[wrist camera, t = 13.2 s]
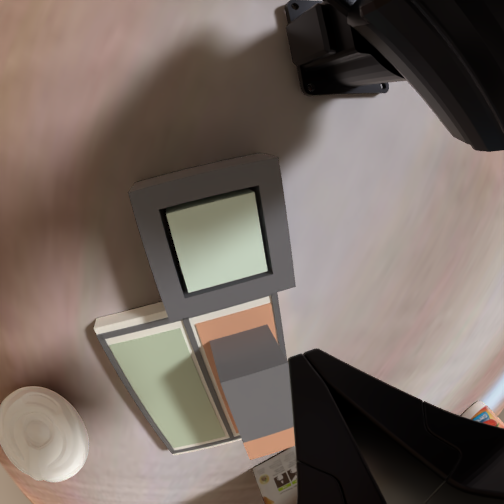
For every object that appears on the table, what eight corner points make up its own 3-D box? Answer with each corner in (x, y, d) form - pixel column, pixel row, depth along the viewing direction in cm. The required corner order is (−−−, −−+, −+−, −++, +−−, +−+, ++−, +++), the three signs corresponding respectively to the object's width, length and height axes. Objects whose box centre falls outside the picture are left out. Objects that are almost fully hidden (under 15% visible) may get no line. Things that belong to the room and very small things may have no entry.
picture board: (269, 272, 21) (275, 281, 19) (290, 413, 27) (295, 423, 26) (96, 318, 18) (93, 329, 17) (172, 445, 25) (174, 456, 24)
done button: (242, 184, 17) (254, 192, 15) (255, 254, 19) (267, 271, 17) (166, 202, 17) (166, 214, 14) (185, 272, 18) (188, 292, 16)
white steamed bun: (97, 387, 21) (88, 468, 14) (89, 435, 22) (85, 503, 15) (8, 355, 17) (-23, 427, 11) (13, 410, 19) (-4, 474, 12)
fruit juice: (460, 428, 50) (522, 500, 25) (444, 433, 47) (511, 515, 22) (485, 398, 48) (553, 469, 23) (472, 400, 45) (548, 481, 19)
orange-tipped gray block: (267, 324, 20) (288, 362, 17) (282, 410, 25) (298, 444, 21) (209, 340, 20) (220, 382, 16) (238, 423, 24) (250, 459, 20)
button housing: (260, 152, 18) (278, 157, 15) (278, 265, 21) (295, 286, 18) (134, 182, 16) (128, 192, 14) (168, 295, 19) (169, 322, 17)
